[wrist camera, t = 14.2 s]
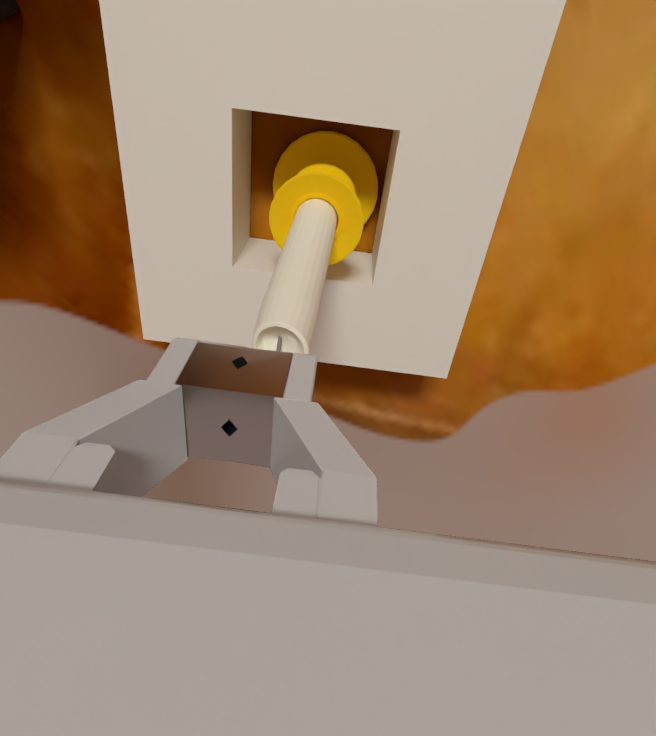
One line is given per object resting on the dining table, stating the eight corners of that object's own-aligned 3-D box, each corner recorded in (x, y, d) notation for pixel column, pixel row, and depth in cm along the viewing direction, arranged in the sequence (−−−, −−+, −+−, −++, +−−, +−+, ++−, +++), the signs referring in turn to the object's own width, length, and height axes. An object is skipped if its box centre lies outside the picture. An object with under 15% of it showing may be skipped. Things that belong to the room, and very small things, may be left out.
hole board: (533, 1, 19) (568, -6, 16) (437, 338, 28) (446, 378, 25) (137, -53, 19) (89, -72, 16) (169, 303, 28) (143, 339, 25)
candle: (271, 231, 25) (173, 430, 13) (276, 122, 22) (154, 240, 10) (368, 244, 25) (369, 456, 13) (386, 138, 22) (411, 274, 10)
